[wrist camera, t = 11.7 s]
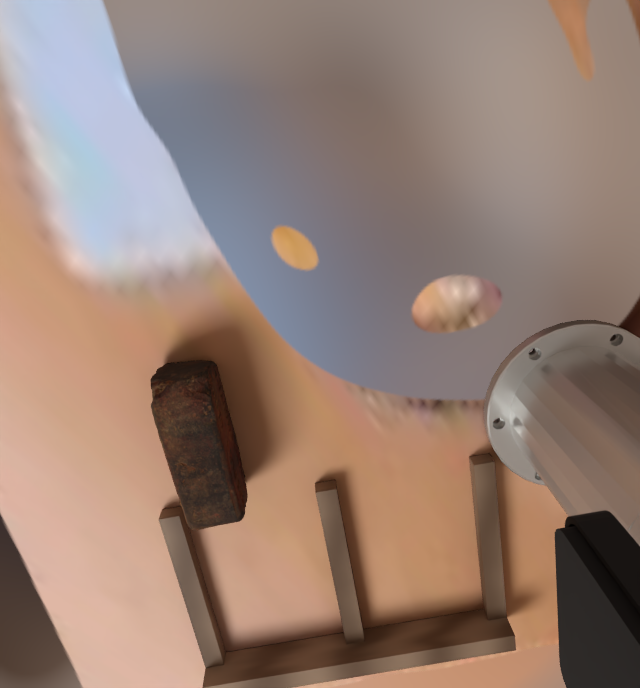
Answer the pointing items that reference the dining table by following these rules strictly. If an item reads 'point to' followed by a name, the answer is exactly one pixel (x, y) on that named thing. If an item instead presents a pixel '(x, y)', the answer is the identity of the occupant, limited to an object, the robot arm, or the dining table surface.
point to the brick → (199, 443)
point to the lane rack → (351, 609)
